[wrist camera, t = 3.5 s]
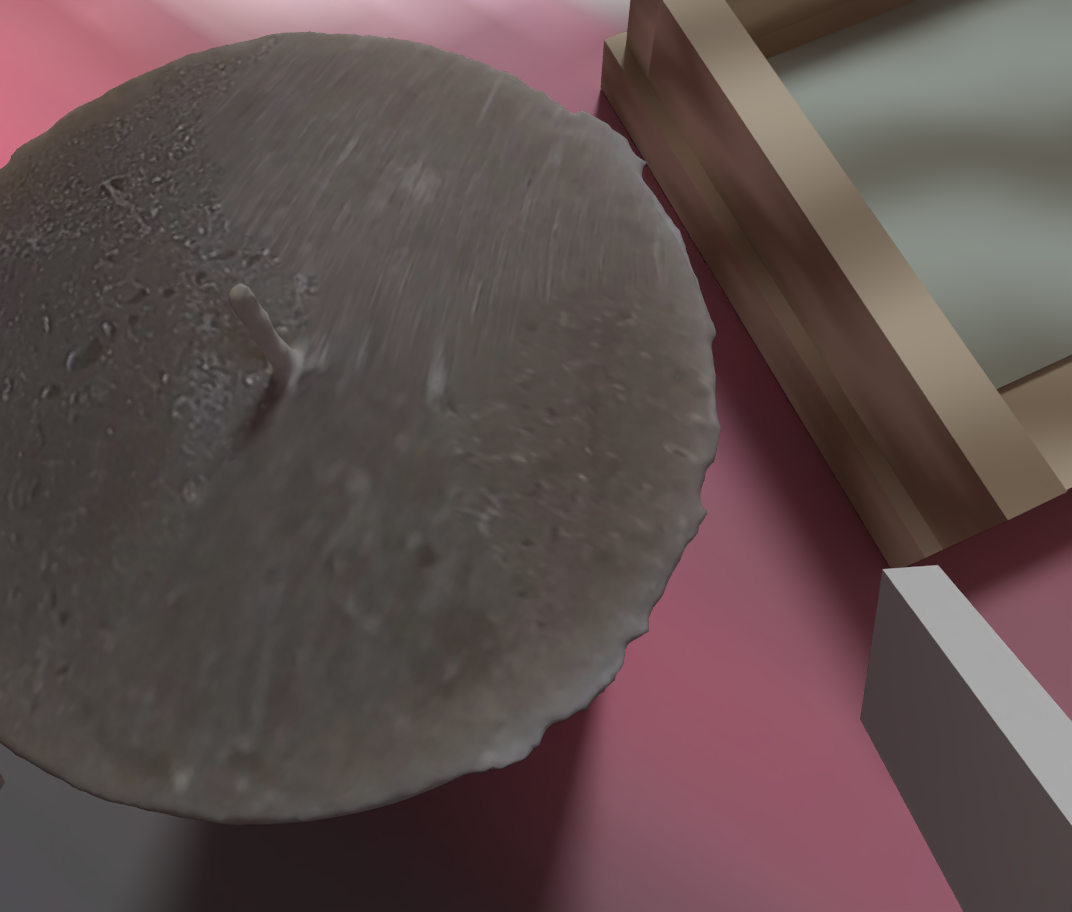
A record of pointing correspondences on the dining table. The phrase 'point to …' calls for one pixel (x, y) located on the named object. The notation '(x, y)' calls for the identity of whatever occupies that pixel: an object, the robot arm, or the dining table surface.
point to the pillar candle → (332, 427)
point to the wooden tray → (882, 231)
